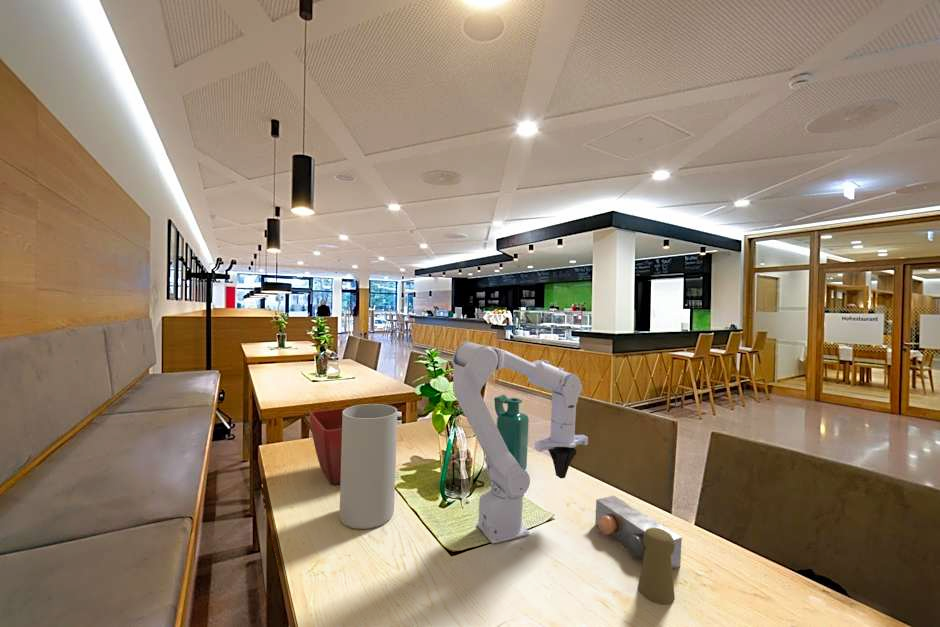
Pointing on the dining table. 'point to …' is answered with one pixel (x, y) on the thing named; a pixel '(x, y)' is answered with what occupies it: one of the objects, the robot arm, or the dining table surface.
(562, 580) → the dining table surface
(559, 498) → the dining table surface
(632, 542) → the gray knob
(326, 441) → the plant pot
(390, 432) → the cylinder vase
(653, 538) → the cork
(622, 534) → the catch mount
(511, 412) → the green bottle
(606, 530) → the terracotta knob
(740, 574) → the dining table surface
